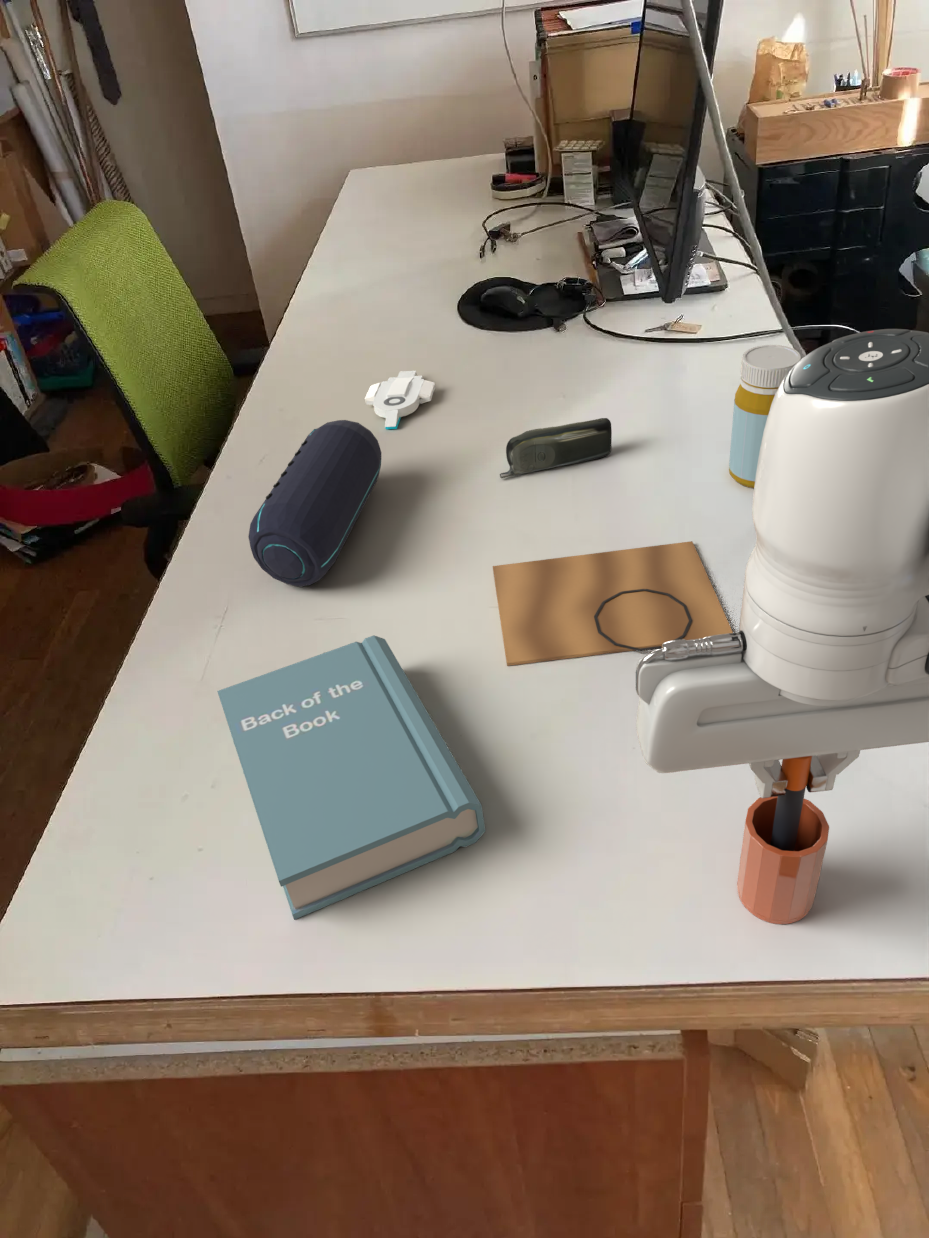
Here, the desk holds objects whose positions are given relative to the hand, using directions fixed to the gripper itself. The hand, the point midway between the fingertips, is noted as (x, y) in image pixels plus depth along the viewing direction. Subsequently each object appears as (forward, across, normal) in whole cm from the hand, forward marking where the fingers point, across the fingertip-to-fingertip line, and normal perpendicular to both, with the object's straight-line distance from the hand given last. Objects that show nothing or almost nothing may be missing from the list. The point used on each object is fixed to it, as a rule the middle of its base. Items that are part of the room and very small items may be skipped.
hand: (792, 786), depth 60 cm
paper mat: (+12, -6, +36) cm, 38 cm away
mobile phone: (+12, -7, +64) cm, 66 cm away
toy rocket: (+12, -27, +87) cm, 92 cm away
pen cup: (+12, 0, 0) cm, 12 cm away
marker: (+10, 0, 0) cm, 10 cm away
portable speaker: (+12, -36, +55) cm, 67 cm away
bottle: (+12, +16, +56) cm, 59 cm away
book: (+12, -32, +16) cm, 38 cm away
